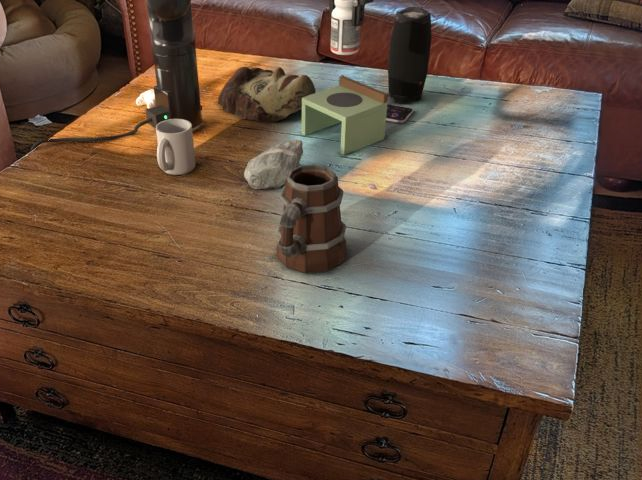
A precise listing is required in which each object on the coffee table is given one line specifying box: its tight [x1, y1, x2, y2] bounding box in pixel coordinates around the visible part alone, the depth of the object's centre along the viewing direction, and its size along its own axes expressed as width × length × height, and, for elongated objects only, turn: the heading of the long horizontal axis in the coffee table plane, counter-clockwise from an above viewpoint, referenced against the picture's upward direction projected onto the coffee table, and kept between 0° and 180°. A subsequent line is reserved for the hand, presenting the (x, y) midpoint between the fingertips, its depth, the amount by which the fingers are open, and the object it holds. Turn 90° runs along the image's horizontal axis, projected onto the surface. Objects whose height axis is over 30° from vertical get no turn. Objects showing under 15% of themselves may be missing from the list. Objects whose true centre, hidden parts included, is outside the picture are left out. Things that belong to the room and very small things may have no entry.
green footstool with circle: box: [301, 75, 389, 156], centre depth 157 cm, size 12×14×10 cm
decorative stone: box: [243, 139, 304, 190], centre depth 145 cm, size 13×10×6 cm
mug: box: [276, 163, 347, 274], centre depth 119 cm, size 16×12×15 cm
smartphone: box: [386, 103, 414, 124], centre depth 170 cm, size 8×1×15 cm
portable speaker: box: [387, 6, 433, 104], centre depth 170 cm, size 9×9×20 cm
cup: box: [155, 119, 196, 176], centre depth 148 cm, size 7×10×9 cm
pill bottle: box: [330, 0, 361, 56], centre depth 141 cm, size 6×6×10 cm
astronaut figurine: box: [135, 88, 156, 109], centre depth 177 cm, size 9×12×3 cm
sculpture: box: [217, 66, 317, 123], centre depth 172 cm, size 21×10×25 cm
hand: (345, 21), depth 141 cm, fingers closed on pill bottle, 5 cm apart
